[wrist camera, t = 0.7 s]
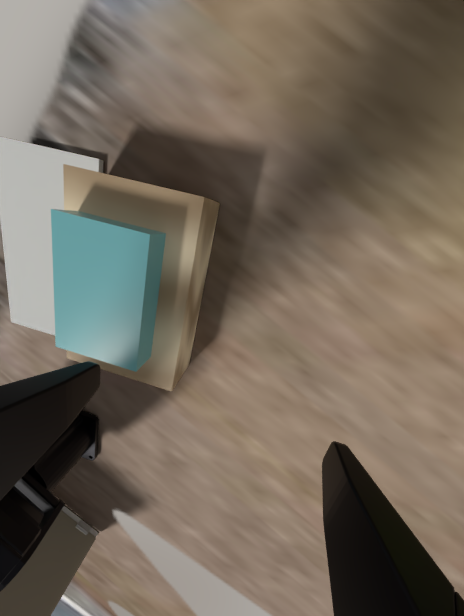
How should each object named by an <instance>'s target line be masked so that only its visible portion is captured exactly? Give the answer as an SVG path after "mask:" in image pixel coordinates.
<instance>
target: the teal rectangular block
mask: <svg viewBox="0 0 464 616" xmlns="http://www.w3.org/2000/svg"><path fill="white" fill-rule="evenodd" d="M51 228H52V256H53V284H54V311H55V339H56V347H59V348H62V349H65V350H68V351H72V352H75V353H78V354H81V355H84V356H87V357H91V358H94V359H97V360H100V361H103V362H106V363H110V364H113V365H116V366H119V367H122V368H125V369H129V370H132V371H135V372H137V371H138V369H139V368H140V367H141V366H142V365H143V364H144V363H145V362H146V361H147V360H148V359H149V358H150V357H151V351H152V343H153V335H154V327H155V319H156V311H157V303H158V295H159V287H160V278H161V270H162V262H163V254H164V246H165V238H166V233H163V232H159V231H155V230H151V229H147V228H143V227H139V226H135V225H131V224H127V223H123V222H119V221H116V220H112V219H108V218H104V217H100V216H96V215H92V214H88V213H84V212H80V211H72V210H58V209H51Z"/></svg>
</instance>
